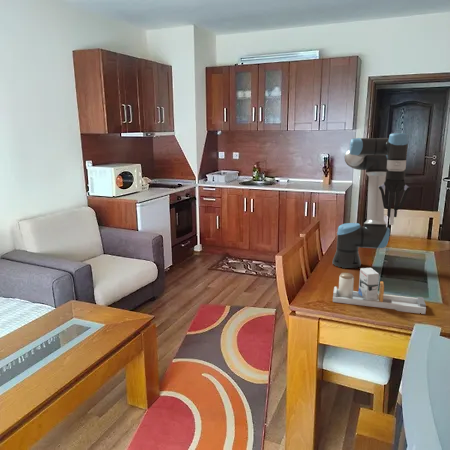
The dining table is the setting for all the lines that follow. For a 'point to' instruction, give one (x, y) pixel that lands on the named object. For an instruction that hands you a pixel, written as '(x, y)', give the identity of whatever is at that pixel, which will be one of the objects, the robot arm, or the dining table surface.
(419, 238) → the dining table surface
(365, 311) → the dining table surface
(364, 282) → the ink box
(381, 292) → the pusher
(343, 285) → the jar
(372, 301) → the tray
